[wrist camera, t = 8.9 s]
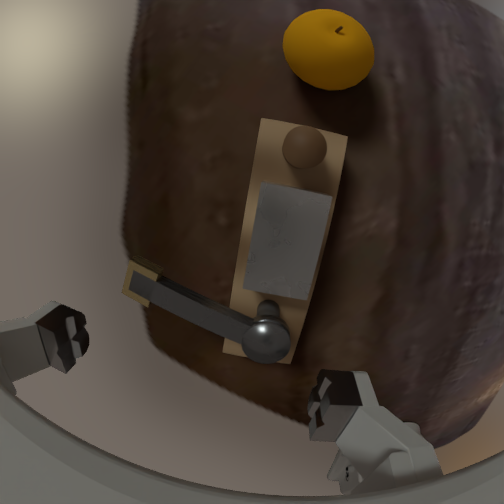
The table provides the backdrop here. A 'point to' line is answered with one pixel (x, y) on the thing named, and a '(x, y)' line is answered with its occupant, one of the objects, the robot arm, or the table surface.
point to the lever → (208, 312)
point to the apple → (328, 49)
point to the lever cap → (286, 240)
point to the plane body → (293, 174)
